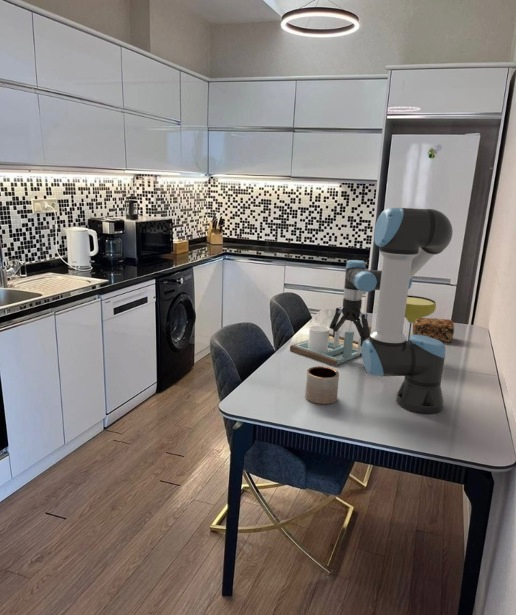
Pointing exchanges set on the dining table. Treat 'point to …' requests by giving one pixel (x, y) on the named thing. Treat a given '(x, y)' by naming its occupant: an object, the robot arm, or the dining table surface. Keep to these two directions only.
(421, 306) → the cocktail glass
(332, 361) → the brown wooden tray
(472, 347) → the dining table surface
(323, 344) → the mug
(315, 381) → the planter
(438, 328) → the bread
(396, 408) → the dining table surface
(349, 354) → the teal divided frame
